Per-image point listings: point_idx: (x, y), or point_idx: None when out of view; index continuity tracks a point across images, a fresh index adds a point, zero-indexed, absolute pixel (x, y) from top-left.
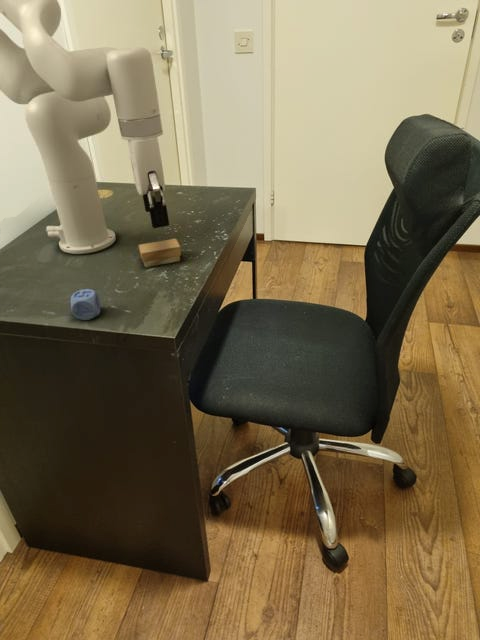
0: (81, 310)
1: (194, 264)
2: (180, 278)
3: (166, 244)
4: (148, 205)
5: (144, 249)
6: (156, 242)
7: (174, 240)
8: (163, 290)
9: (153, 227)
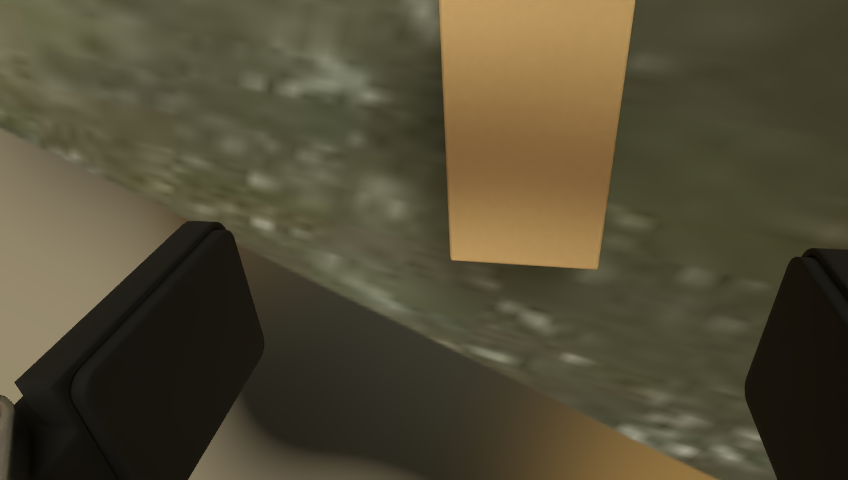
0: None
1: (406, 250)
2: (270, 155)
3: (522, 194)
4: (819, 341)
5: (504, 16)
6: (600, 134)
7: (566, 254)
8: (153, 46)
9: (192, 224)
